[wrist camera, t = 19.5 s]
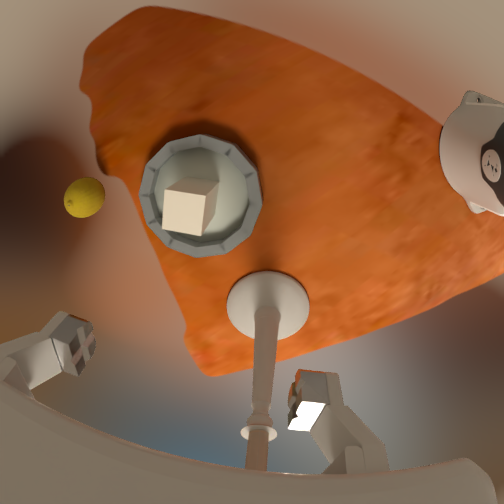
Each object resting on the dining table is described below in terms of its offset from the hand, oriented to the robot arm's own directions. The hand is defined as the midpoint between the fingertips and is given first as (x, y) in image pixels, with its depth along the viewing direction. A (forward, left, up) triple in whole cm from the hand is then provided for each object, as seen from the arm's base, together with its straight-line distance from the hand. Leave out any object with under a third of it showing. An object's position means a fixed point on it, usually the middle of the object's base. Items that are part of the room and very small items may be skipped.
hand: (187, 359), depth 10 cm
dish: (+7, 0, -31) cm, 32 cm away
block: (+7, 0, -30) cm, 31 cm away
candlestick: (+1, +19, -31) cm, 37 cm away
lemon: (+23, -4, -31) cm, 39 cm away
